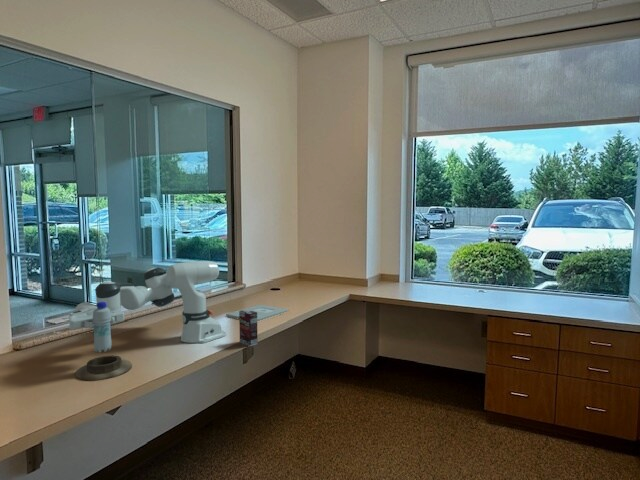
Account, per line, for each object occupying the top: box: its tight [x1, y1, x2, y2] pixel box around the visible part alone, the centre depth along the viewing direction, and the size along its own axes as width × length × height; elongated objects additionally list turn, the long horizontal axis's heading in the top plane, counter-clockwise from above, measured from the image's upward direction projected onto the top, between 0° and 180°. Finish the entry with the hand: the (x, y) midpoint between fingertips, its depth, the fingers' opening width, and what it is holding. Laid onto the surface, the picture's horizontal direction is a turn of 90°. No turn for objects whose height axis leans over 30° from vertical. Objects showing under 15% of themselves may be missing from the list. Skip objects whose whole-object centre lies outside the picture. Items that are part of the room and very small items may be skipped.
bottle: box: [92, 302, 113, 354], centre depth 166 cm, size 7×7×20 cm
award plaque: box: [225, 304, 290, 321], centre depth 256 cm, size 25×30×2 cm
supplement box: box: [238, 308, 258, 347], centre depth 200 cm, size 9×5×16 cm, turn 47°
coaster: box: [75, 355, 133, 382], centre depth 167 cm, size 20×20×4 cm
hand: (102, 323), depth 165 cm, fingers closed on bottle, 6 cm apart
